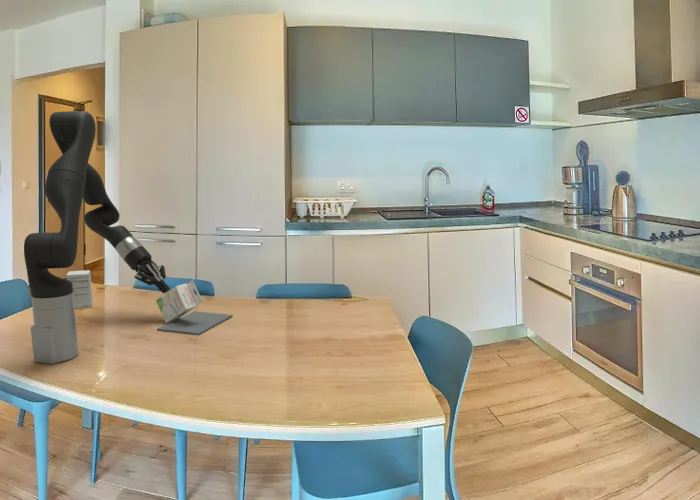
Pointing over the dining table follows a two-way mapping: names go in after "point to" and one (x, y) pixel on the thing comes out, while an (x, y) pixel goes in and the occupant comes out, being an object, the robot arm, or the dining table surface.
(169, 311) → the ink box
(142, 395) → the dining table surface
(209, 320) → the mat
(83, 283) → the supplement box
